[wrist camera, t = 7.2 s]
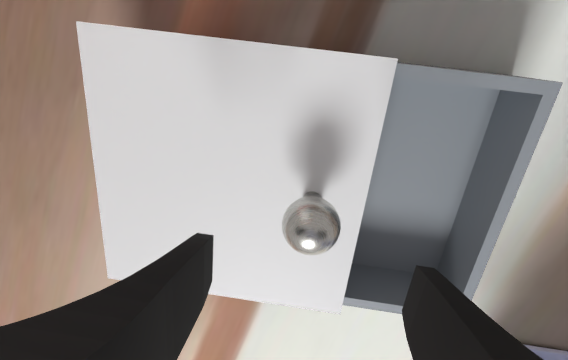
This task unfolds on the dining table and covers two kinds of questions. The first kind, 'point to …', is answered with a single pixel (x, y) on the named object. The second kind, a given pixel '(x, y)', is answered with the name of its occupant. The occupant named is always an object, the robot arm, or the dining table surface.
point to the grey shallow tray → (444, 178)
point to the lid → (234, 156)
